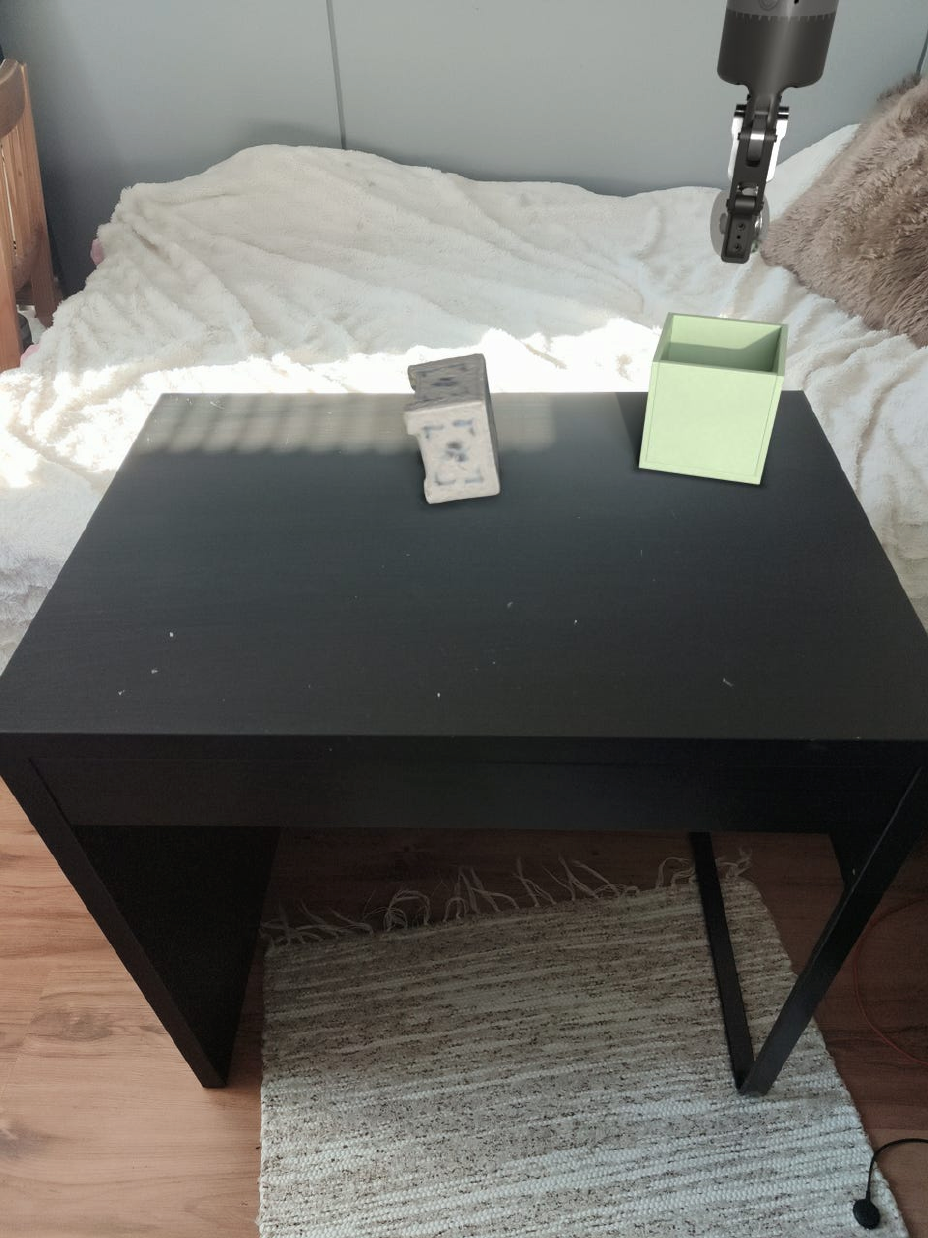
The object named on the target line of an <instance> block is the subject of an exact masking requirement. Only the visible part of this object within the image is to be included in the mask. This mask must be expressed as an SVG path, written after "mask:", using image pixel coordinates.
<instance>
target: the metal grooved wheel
mask: <svg viewBox="0 0 928 1238" xmlns="http://www.w3.org/2000/svg"><path fill="white" fill-rule="evenodd" d="M730 190H731V188H727V189H723V190H721V191H720V192H719V193H718V194H717V195H716V197H715V199H714V202H713V205H712V208H711V213H710V222H709V233H710V240H711V245H712V248H713V251H714V252H715V254H716V255H717V256H718V257H720V258H721V252H722V246H723V240H724V235H725V229H726V223H727V217H728V213H727V208H726V201H727V199H729V195H730ZM757 190H758V187H757V188H746V189H744V190H743V191H742V192H741V191H740V190H739V189H737V194H740V195H754V196H757ZM737 194H736V196H737ZM762 202H764V206H763V209H762V211H760V214H759V215H758V216H757V221H756V226H755V231H754V236H753V242H752V247H751V252H750V255H753V254H756V253H757V252H758V251H759V250H760V249H761V248H762V247H763V245H764V244H765V241H766V239H767V237H768V233H769V228H770V218H771V216H770V215H771V214H770V213H771V212H770V205H769V202H768V199H767V197H766V195H765V194H764V196H763V201H762Z"/></svg>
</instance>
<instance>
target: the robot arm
mask: <svg viewBox="0 0 928 1238" xmlns="http://www.w3.org/2000/svg"><path fill="white" fill-rule="evenodd" d="M839 2H840V0H726V7H725V12H724V20H723V26H722V33H721V39H720V46H719V47H720V48H719V53H718V58H717V59H718V60H717V66H716V74H717V76H718V78H719V79H720V80H721V81H723V82H725V83H728V84H731V85H734V86H744V87H746V88H747V90H748V93H746V100H745V102H746V103H736V105H735V110H734V112H733V118H732V123H731V129H730V137H731V139H732V143H731V147H730V148H731V149H730V155H729V161H728V165H727V171H726V172H727V173H726V176H727V178H728V180H729V181H730V182H731V185H730V189H731V190H730V195H729V199H727V201H726V208H727V213H728V217H727V223H726V229H725V235H724V240H723V246H722V252H721V257H720V260H721V262H723V263H727V264H737V265H745V264H747V263H748V262H749V260H750V256H751V254H750V252H751V247H752V242H753V236H754V231H755V226H756V221H757V216H758V215H759V214H760V211H762V209H763V206H764V202H762V201H763V196H764V195H765V192H766V191H765V190H766V185H767V184H768V183H770V182H771V181H772V180H773V178H774V176H775V171H776V166H777V162H778V155H779V151H780V145H781V142H782V141H784V139H785V136H786V132H787V127H788V122H789V118H790V113H789V112H790V107H791V106H790V105H781V103H782V99H783V93H784V92H785V91H786V90H787V89H790V88H792V89H801V88H806V87H810V86H813V85H815V84H816V83H817V82H819V81H820V80H821V79H822V76H823V74H824V71H825V66H826V62H827V57H828V52H829V47H830V43H831V40H832V34H833V30H834V25H835V21H836V16H837V13H838V8H839ZM746 188H757V189H758V190H757V196H754V195H740V194H737V189H739V190H740V191H741V192H742V191H743V190H744V189H746ZM736 194H737V196H736Z"/></svg>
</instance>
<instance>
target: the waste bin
mask: <svg viewBox="0 0 928 1238" xmlns="http://www.w3.org/2000/svg"><path fill="white" fill-rule="evenodd" d="M788 337H789V323H781V322H780V323H778V322H769V321H758V320H748V319H739V318H730V317H719V316H708V315H699V314H691V313H690V314H689V313H681V312H680V313H679V312H669V311H668V312H667V315H666V318H665V321H664V324H663V328H662V329H661V333H660V336H659V339H658V343H657V346H656V349H655V352H654V355H653V358H652V361H651V368H650V374H649V376H650V377H649V384H648V391H647V400H646V407H645V415H644V422H643V430H642V439H641V445H640V453H639V461H638V468H639V469H645V470H653V471H661V472H667V473H675V474H681V475H688V476H696V477H702V478H711V479H718V480H725V481H731V482H739V483H746V484H753V485H760V483H761V479H762V476H763V472H764V467H765V463H766V458H767V454H768V449H769V445H770V440H771V437H772V433H773V428H774V424H775V419H776V416H777V411H778V408H779V402H780V399H781V394H782V390H783V386H784V380H785V376H786V362H787V351H788Z"/></svg>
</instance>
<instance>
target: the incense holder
mask: <svg viewBox="0 0 928 1238" xmlns="http://www.w3.org/2000/svg"><path fill="white" fill-rule="evenodd" d="M406 372H407V376H408V381H409V384H410V385H409V386H410V388H411V390H413V391H414V398H413V401H412V402H411V403H407V404H404V405H403V408H402V418H403V423H404V424H403V425H404V427H405V432H406V435H409V436H414V437H415V438H416V440H417V443H418V447H419V451H420V454H421V459H422V462H423V466H424V467H423V468H424V471H425V479H424V480H423V489H424V490H423V491H424V495H425V499H426V502H428V504H430V505H432V504H439V503H444V502H445V503H446V502H450V501H456V500H464V499H474V498H483V497H490V496H497V495H498V494H500V492H501V479H500V468H499V466H500V465H499V441H498V432H497V427H496V422H495V421H496V420H495V414H494V409H493V405H492V404H493V403H492V396H491V389H490V385H489V383H490V382H489V377H488V369H487V361H486V358H485V354H484V353H481V352H480V353H477V352H475V353H471V354H466V355H459V356H455V357H447V358H441V359H438V360H430V361H426V362H422V363H417V364H410V365H408V366H407V371H406Z"/></svg>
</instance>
